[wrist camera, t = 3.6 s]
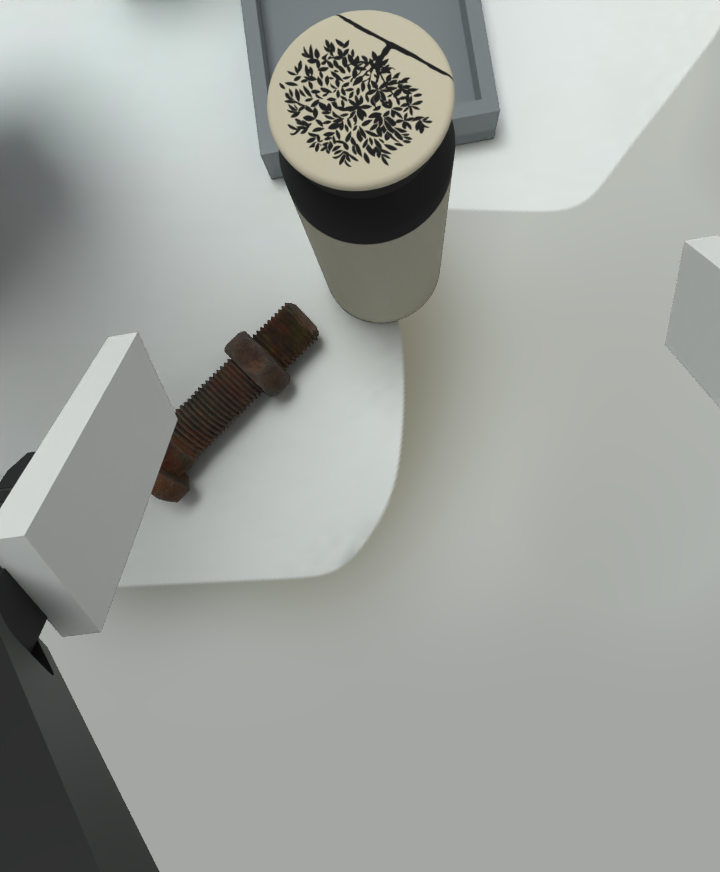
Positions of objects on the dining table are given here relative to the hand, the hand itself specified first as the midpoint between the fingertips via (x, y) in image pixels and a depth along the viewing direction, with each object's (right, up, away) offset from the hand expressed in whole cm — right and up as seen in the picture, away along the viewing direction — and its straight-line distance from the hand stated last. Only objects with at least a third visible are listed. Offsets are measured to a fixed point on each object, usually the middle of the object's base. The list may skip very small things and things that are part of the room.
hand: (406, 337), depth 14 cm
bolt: (-10, 0, +27) cm, 29 cm away
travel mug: (0, +9, +26) cm, 28 cm away
